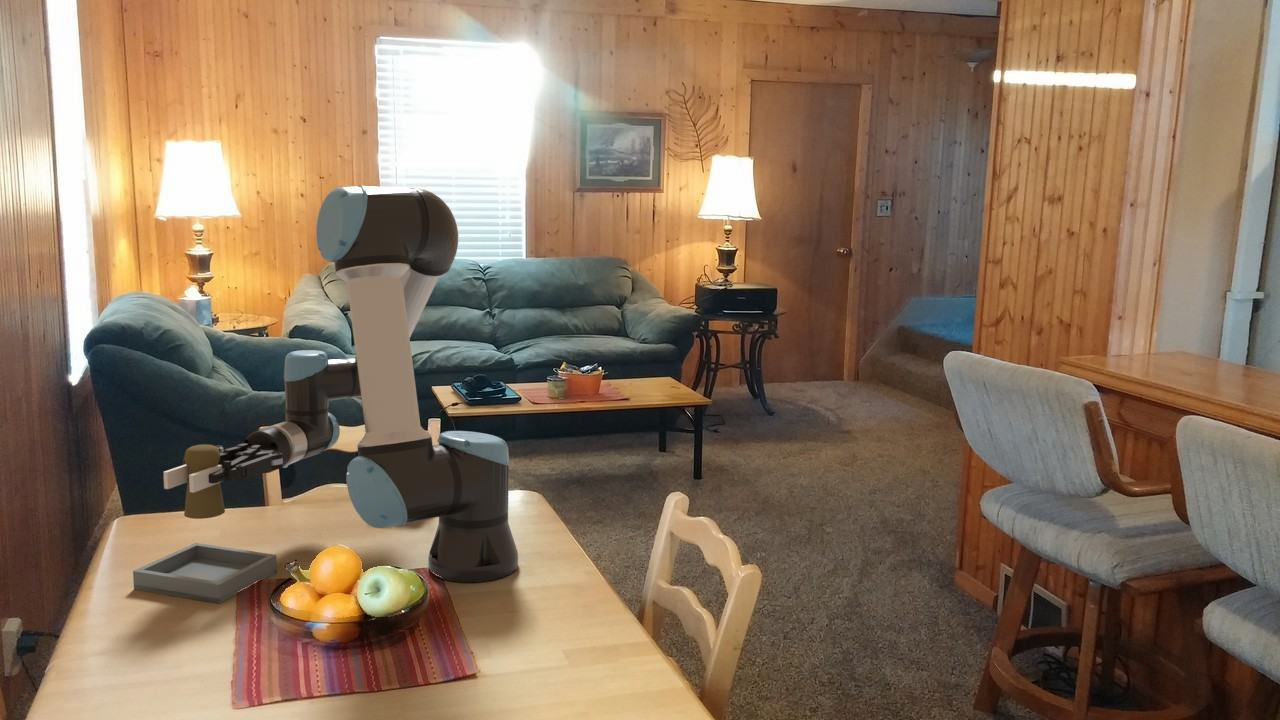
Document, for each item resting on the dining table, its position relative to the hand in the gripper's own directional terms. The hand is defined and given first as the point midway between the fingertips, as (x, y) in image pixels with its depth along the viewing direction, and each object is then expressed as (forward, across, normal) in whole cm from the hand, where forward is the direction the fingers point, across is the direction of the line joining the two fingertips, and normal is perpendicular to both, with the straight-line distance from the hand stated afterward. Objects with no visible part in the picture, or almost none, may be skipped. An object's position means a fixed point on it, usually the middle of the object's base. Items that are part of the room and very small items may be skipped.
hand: (178, 482), depth 156 cm
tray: (-5, 0, -18) cm, 19 cm away
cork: (-5, 0, -7) cm, 9 cm away
